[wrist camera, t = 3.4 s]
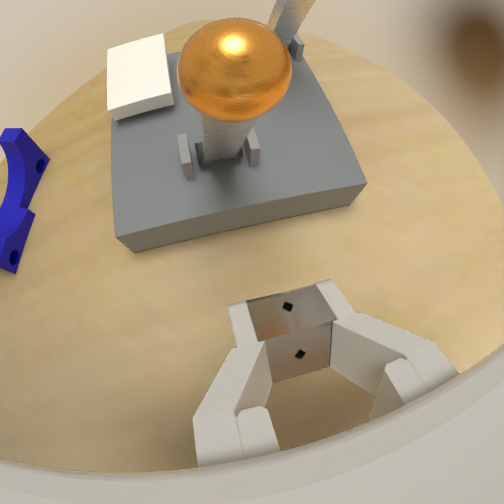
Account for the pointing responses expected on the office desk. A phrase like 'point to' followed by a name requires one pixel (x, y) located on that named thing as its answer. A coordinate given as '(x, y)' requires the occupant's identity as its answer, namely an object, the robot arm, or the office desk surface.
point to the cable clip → (18, 193)
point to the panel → (229, 167)
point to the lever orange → (232, 82)
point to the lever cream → (288, 18)
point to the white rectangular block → (138, 77)
